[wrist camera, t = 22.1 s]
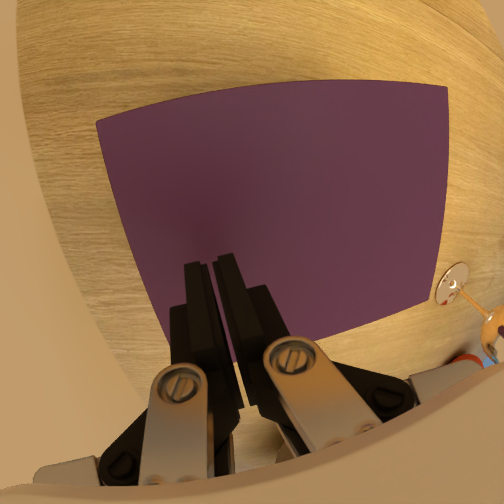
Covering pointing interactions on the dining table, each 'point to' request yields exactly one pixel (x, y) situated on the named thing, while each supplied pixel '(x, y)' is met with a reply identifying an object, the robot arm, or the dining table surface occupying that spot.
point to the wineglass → (495, 321)
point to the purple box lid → (288, 195)
